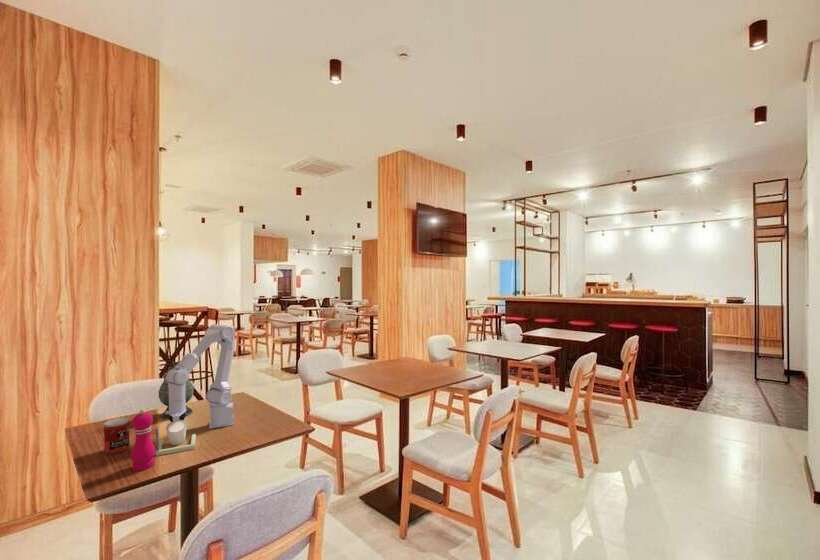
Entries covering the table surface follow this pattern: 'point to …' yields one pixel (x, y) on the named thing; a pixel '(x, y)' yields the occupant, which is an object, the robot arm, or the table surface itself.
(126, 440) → the canned food
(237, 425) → the table surface
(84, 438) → the table surface
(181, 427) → the beige faceted cylinder
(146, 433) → the pepper mill
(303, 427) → the table surface
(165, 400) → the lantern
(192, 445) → the pale green angular frame
